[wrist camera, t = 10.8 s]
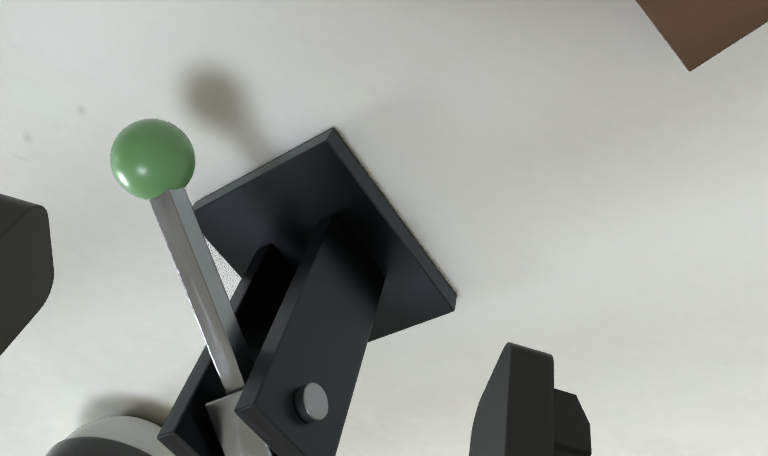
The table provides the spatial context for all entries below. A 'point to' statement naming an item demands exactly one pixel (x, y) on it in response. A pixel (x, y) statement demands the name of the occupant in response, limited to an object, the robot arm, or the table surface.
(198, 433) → the switch bracket
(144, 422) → the black egg-shaped dome
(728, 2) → the button block
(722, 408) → the table surface
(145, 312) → the table surface
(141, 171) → the switch lever
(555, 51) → the table surface
